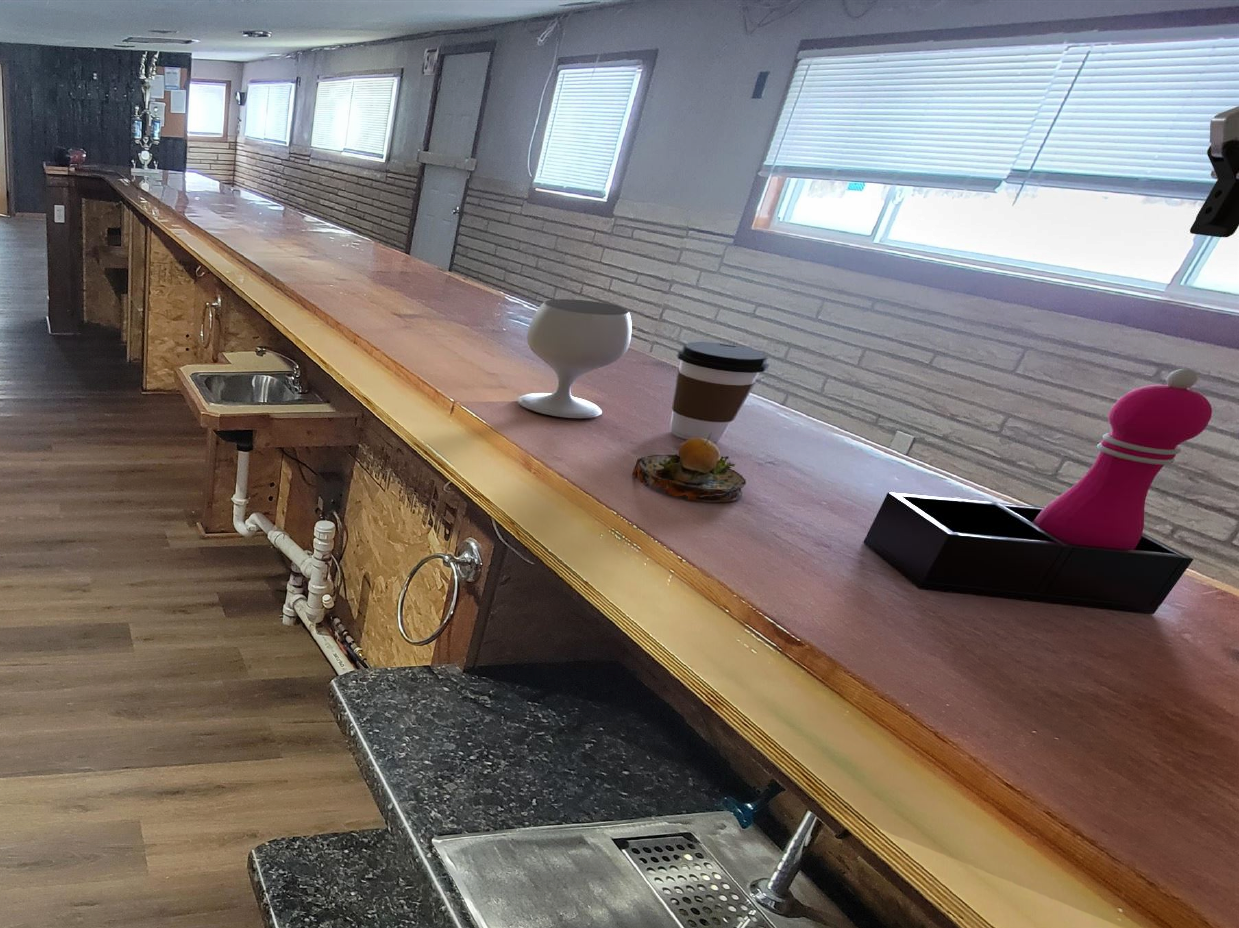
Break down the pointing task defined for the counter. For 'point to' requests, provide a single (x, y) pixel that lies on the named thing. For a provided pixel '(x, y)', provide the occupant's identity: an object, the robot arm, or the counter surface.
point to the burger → (692, 472)
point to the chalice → (575, 349)
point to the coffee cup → (712, 387)
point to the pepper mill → (1128, 464)
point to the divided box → (1016, 556)
